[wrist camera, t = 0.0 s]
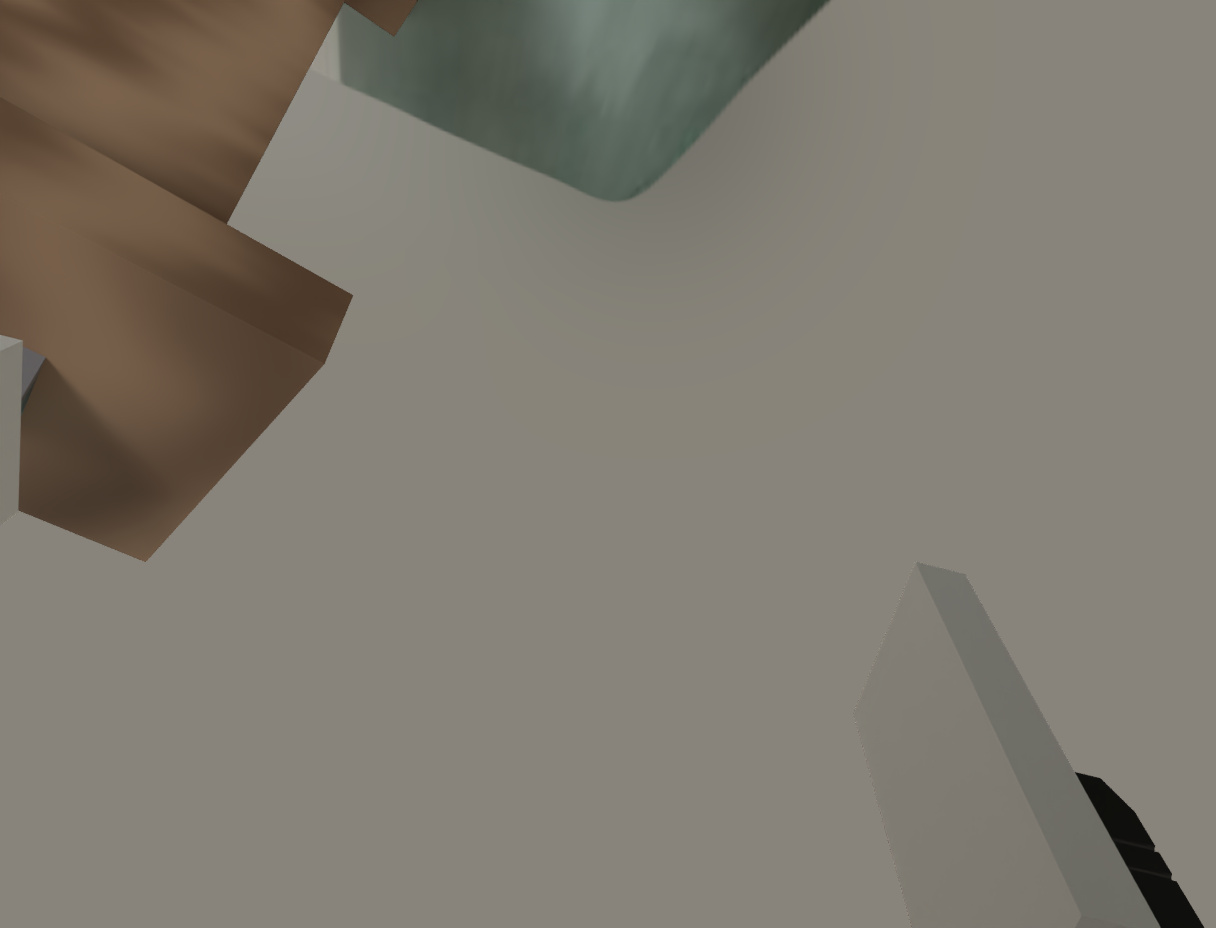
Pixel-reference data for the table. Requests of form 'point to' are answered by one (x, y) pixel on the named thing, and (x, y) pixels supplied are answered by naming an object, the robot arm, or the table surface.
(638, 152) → the table surface
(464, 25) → the table surface
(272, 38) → the shelf stand
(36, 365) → the hammer
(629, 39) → the table surface
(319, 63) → the table surface
